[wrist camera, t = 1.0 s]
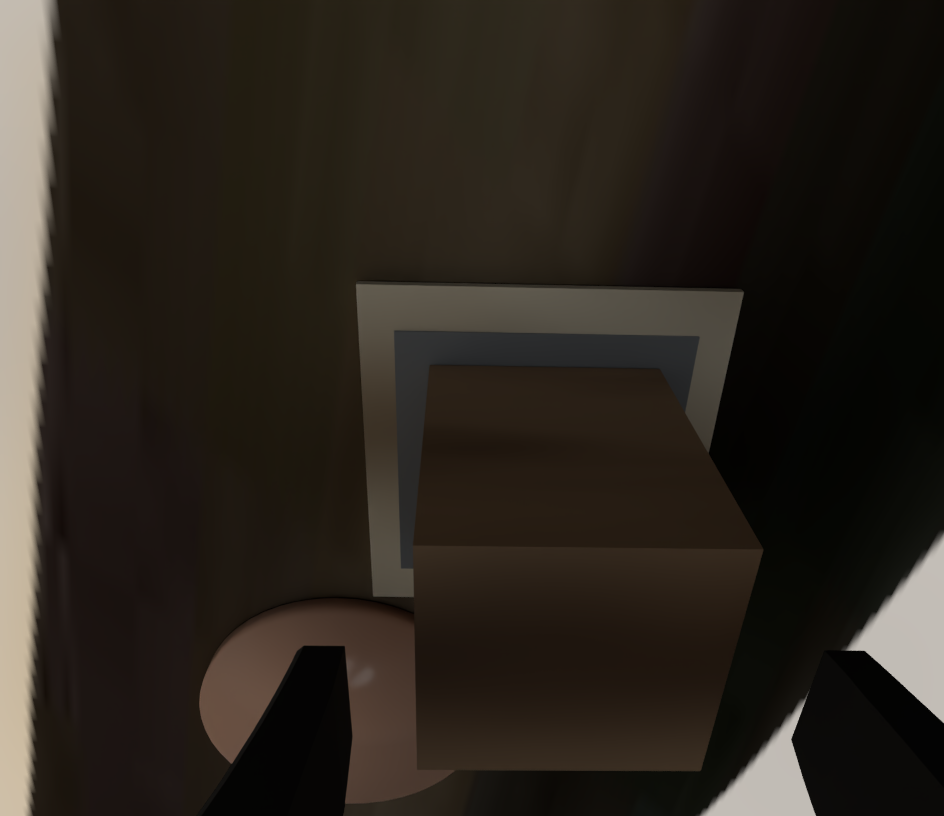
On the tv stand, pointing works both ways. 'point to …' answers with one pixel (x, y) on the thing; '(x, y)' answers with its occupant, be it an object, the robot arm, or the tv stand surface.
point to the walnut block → (571, 573)
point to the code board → (514, 344)
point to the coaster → (369, 681)
